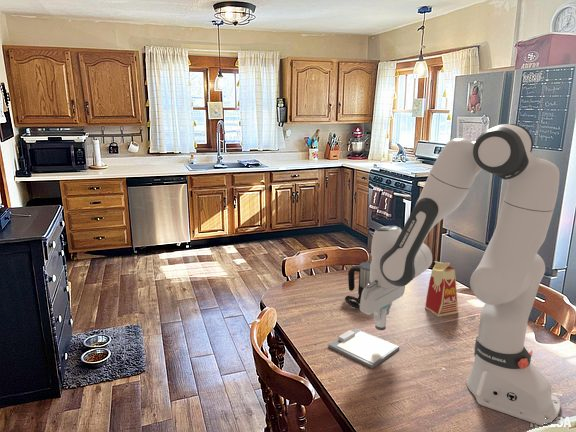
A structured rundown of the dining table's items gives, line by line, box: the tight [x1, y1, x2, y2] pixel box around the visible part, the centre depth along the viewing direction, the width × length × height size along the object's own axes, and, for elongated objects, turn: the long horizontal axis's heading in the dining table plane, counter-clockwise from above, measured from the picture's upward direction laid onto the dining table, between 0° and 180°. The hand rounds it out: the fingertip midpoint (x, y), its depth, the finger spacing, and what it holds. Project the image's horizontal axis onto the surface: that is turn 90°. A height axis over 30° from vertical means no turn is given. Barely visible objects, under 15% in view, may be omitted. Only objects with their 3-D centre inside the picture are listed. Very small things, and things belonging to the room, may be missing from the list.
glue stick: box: [374, 305, 387, 331], centre depth 137 cm, size 3×3×8 cm
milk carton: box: [424, 260, 459, 318], centre depth 163 cm, size 9×9×20 cm
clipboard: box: [328, 327, 400, 369], centre depth 139 cm, size 17×15×2 cm
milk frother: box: [344, 261, 372, 310], centre depth 170 cm, size 14×16×15 cm
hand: (381, 316), depth 137 cm, fingers closed on glue stick, 3 cm apart
